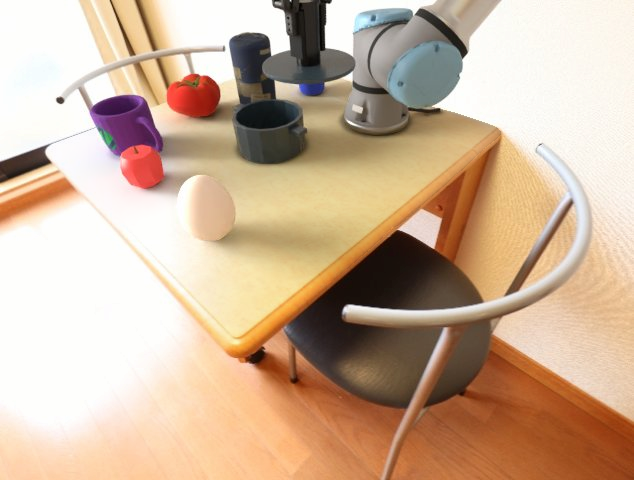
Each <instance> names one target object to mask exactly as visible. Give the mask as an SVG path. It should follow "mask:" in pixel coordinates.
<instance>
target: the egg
mask: <svg viewBox="0 0 634 480" xmlns="http://www.w3.org/2000/svg"><path fill="white" fill-rule="evenodd" d="M176 210H177V216H178V219H179V221H180V224H181V226H182V227H183V229H184V231H186V232H187V233H188V234H189V235H190V236H191V237H193V238H194V239H197V240H200V241H203V242H215V241H216V242H217V241H219V240H221V239H223V238H225V237H226V236H227V235H228V234H229V233H230V231H231V230H232V229H233V227H234V226H235V225H234V224H235V222H236V216H237V212H236V204H235V202H234V199H233V197H232V195H231V193H230V191H228V189H227V188H226V187H225V186H224V185H223V183H221V182H220V180H219V181H218V180H217V179H216V178H215V177H212V176H209V175H206V174H198V175H193V176H192V177H189V178H188V179H186V180H185V181H184V183H183V184H182V186H181V187H180V190H179V191H178V195H177V202H176Z"/></svg>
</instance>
